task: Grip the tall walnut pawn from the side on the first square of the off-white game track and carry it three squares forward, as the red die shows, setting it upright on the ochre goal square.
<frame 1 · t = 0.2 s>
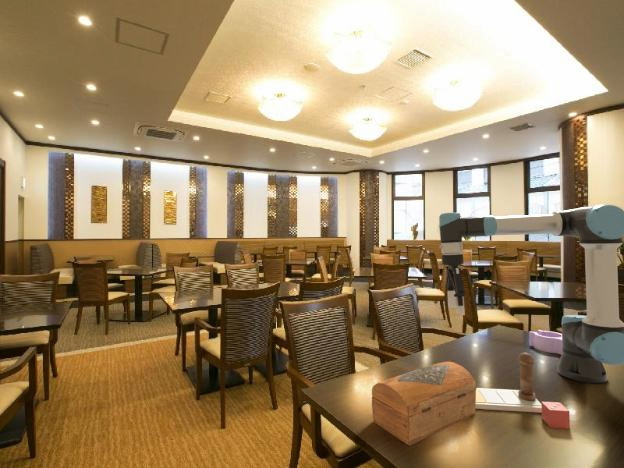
hand: (456, 311, 129), 27 cm above the table, tool pointing down, fingers open, 13 cm apart
pawn: (526, 397, 113), point 2 cm above the table, touching board
wooden box: (423, 418, 106), on the table
board: (499, 401, 115), on the table
clip: (555, 351, 162), on the table
die: (555, 423, 101), on the table
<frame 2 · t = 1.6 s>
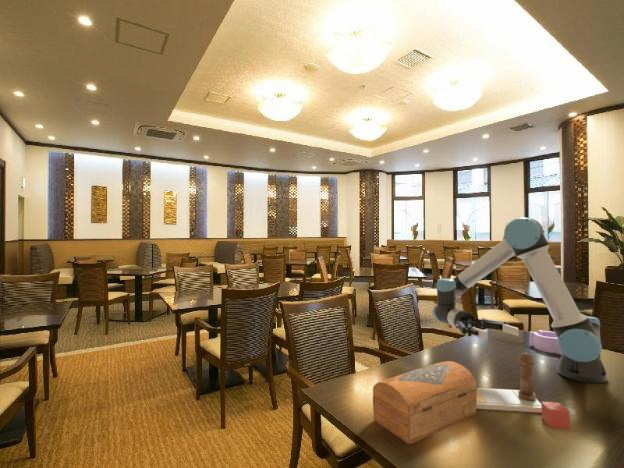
hand: (502, 334, 123), 20 cm above the table, tool horizontal, fingers open, 13 cm apart
nothing on the table moved.
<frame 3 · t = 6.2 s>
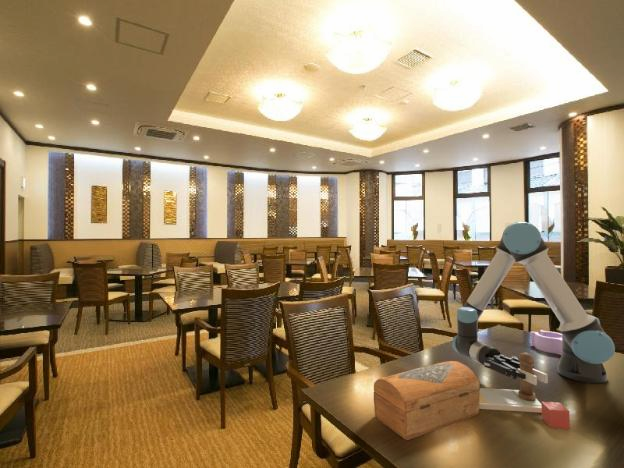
hand: (541, 379, 108), 10 cm above the table, tool horizontal, fingers closed on pawn, 3 cm apart
pawn: (526, 397, 113), point 2 cm above the table, touching gripper
wooden box: (426, 415, 108), on the table
everything else where it was.
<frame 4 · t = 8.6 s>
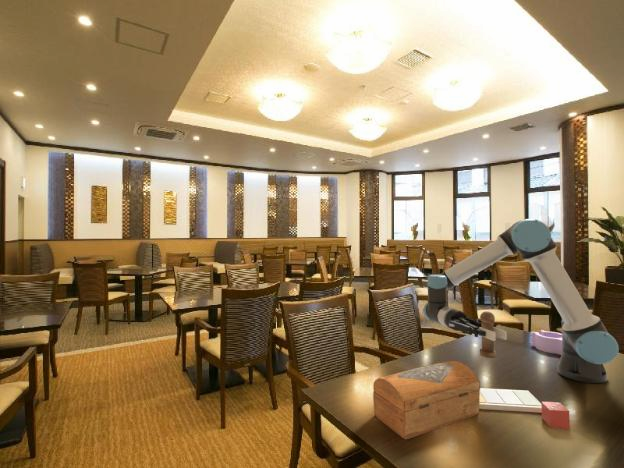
hand: (500, 336, 111), 23 cm above the table, tool horizontal, fingers closed on pawn, 3 cm apart
pawn: (487, 355, 116), point 15 cm above the table, touching gripper
everything else where it was.
when the fingers open (11 cm above the table, at t = 11.4 s): pawn drops 1 cm, resting on board.
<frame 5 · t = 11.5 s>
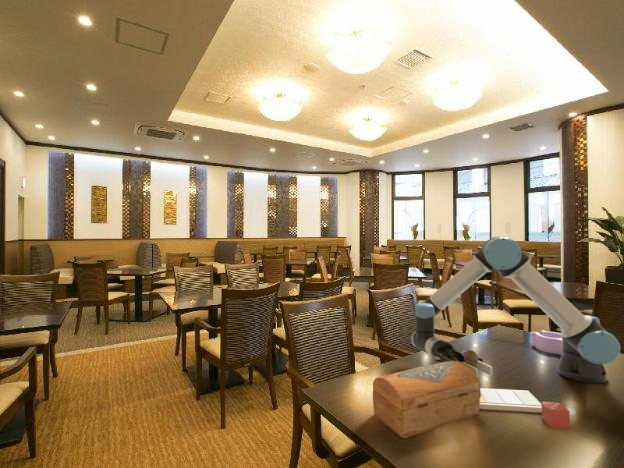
hand: (484, 372, 111), 11 cm above the table, tool horizontal, fingers open, 5 cm apart
pawn: (472, 394, 116), point 2 cm above the table, touching board, gripper
wooden box: (425, 414, 108), on the table, touching gripper, hand
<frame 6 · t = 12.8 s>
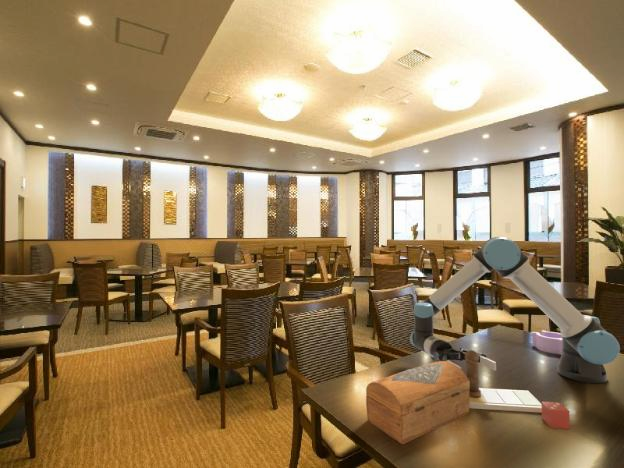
hand: (478, 369, 114), 11 cm above the table, tool horizontal, fingers open, 13 cm apart
pawn: (472, 394, 116), point 2 cm above the table, touching board
wooden box: (417, 417, 107), on the table
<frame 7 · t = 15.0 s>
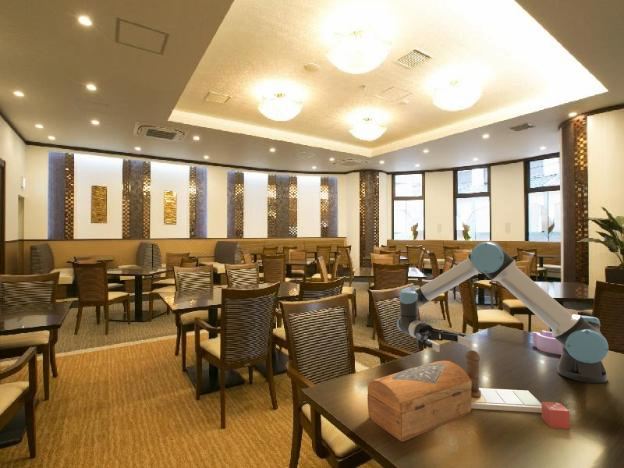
hand: (454, 346, 126), 15 cm above the table, tool horizontal, fingers open, 13 cm apart
wooden box: (419, 415, 108), on the table
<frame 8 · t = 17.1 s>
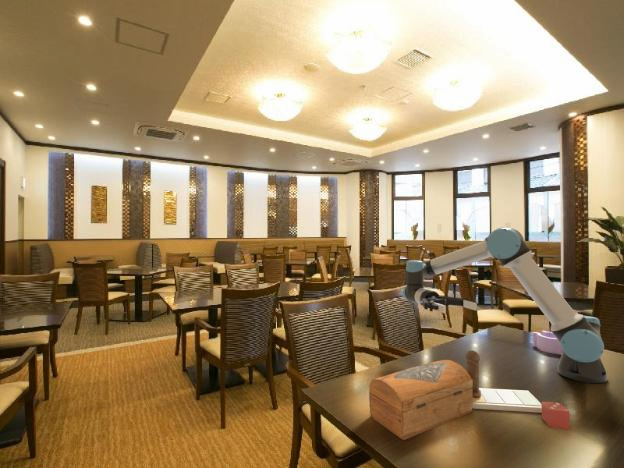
hand: (460, 308, 129), 28 cm above the table, tool horizontal, fingers open, 13 cm apart
at the end: pawn 0.1 cm from the target spot on the board, point 1.7 cm above the board's base; pawn tilted 1°; the gripper is holding nothing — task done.
